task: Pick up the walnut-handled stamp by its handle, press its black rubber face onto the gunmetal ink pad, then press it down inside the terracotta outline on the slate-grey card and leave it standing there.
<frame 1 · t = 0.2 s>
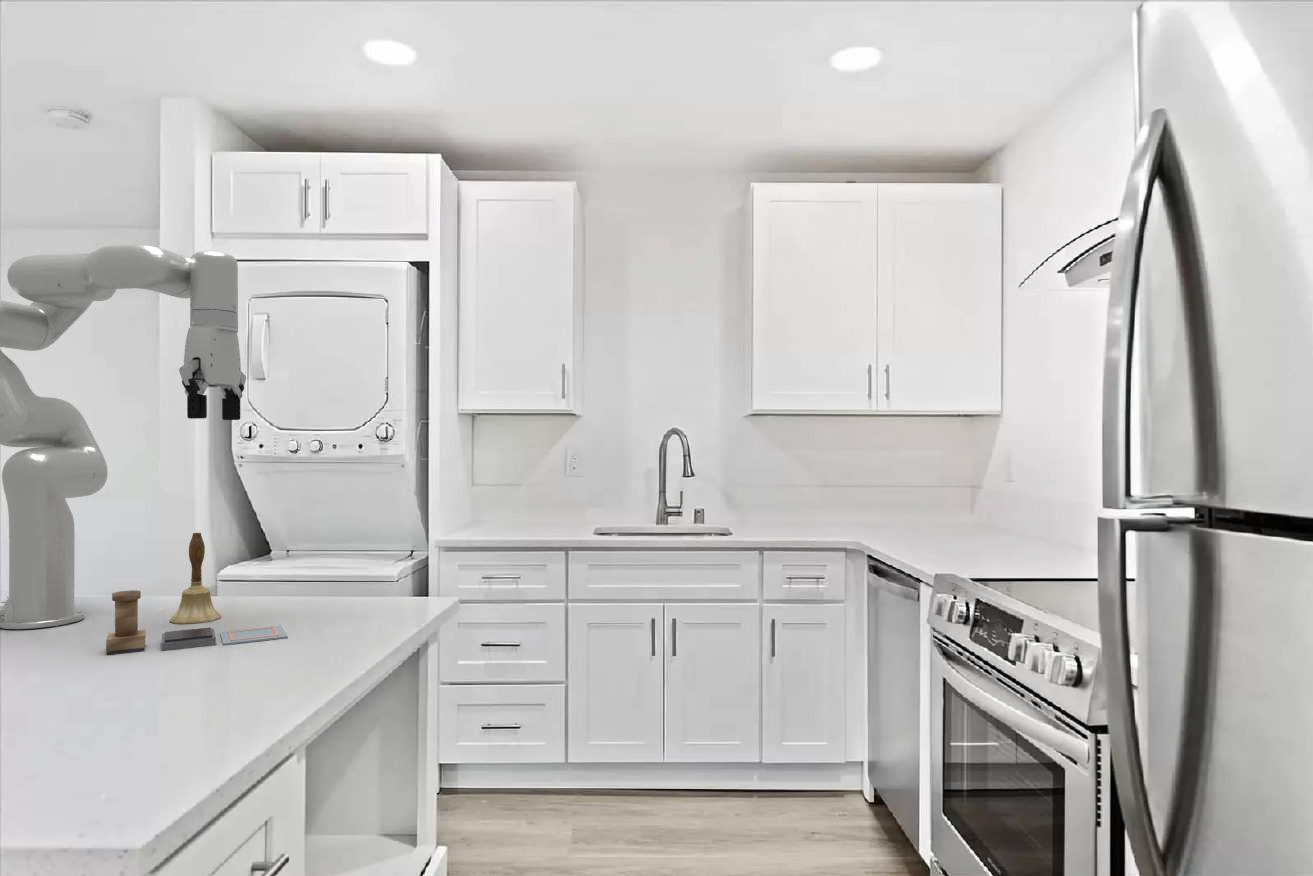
hand: (214, 419, 147), 37 cm above the counter, tool pointing down, fingers open, 9 cm apart
stamp: (126, 649, 129), on the counter
hand bell: (195, 620, 152), on the counter
target card: (253, 635, 139), on the counter
ink pad: (188, 642, 134), on the counter
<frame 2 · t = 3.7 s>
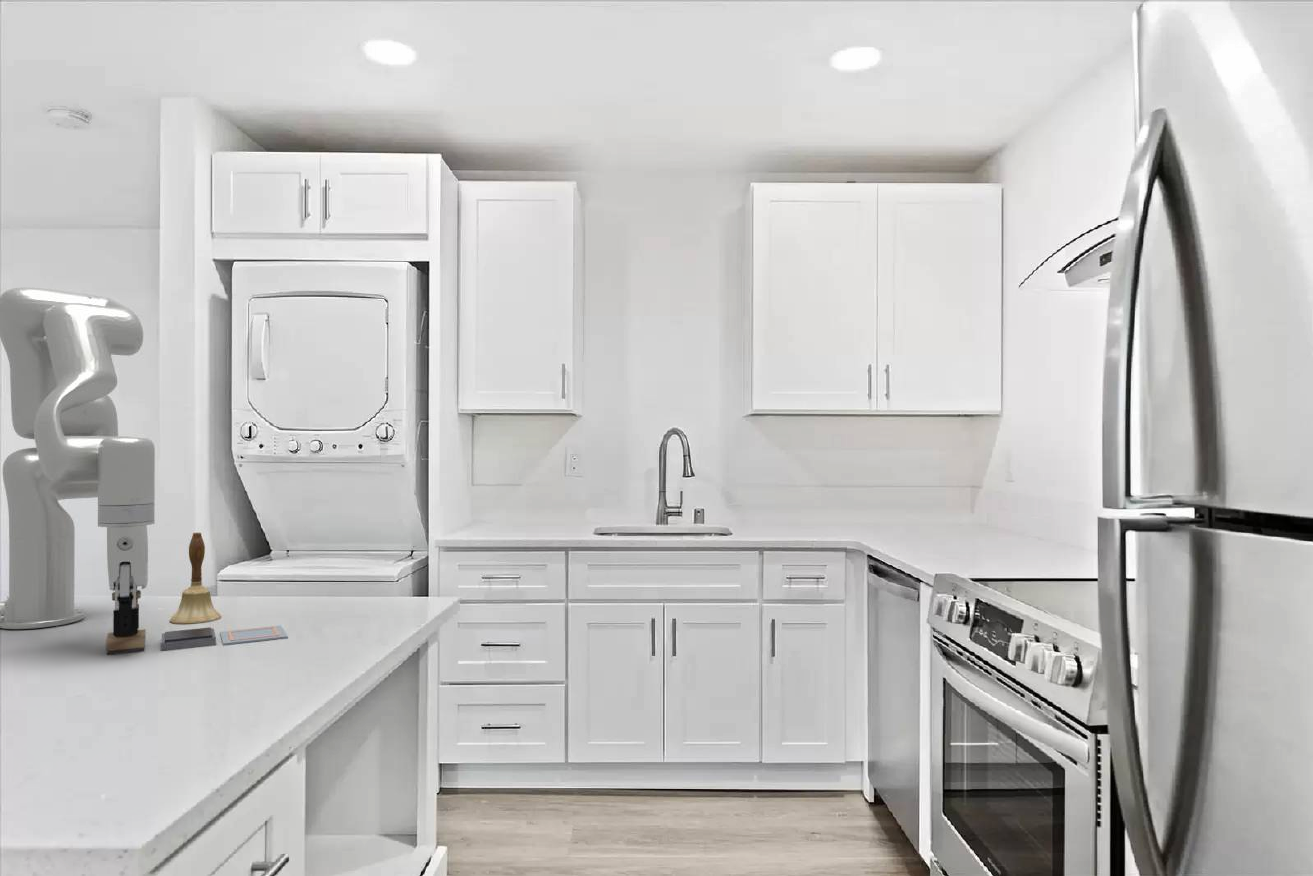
hand: (126, 631, 129), 3 cm above the counter, tool pointing down, fingers closed on stamp, 3 cm apart
stamp: (126, 649, 129), on the counter, touching gripper
everything else where it was.
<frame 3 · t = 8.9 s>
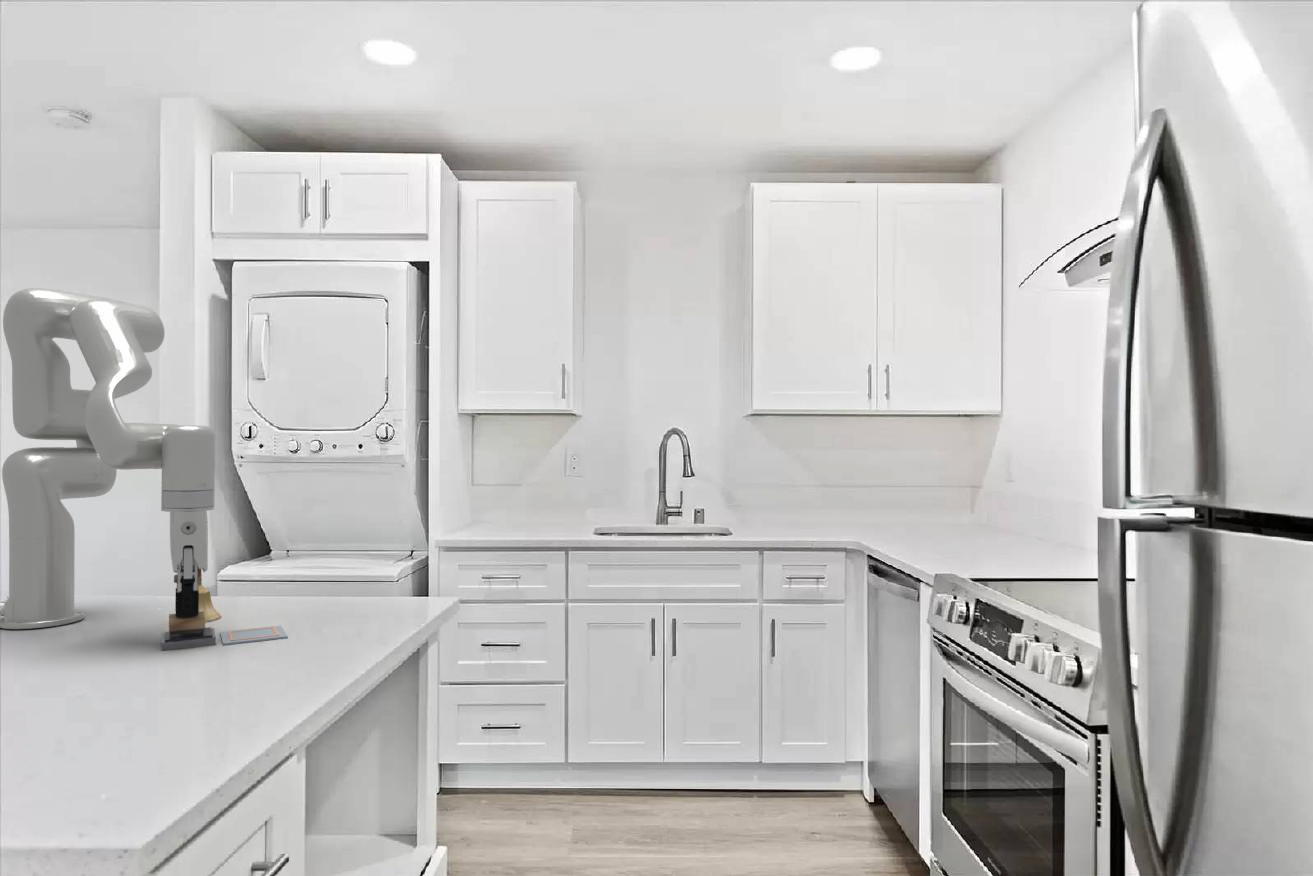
hand: (186, 613, 134), 5 cm above the counter, tool pointing down, fingers closed on stamp, 3 cm apart
stamp: (186, 630, 134), point 2 cm above the counter, touching gripper
everything else where it was.
when the fingers open (3 cm above the counter, at t = 14.3 s): stamp stays where it is, resting on target card.
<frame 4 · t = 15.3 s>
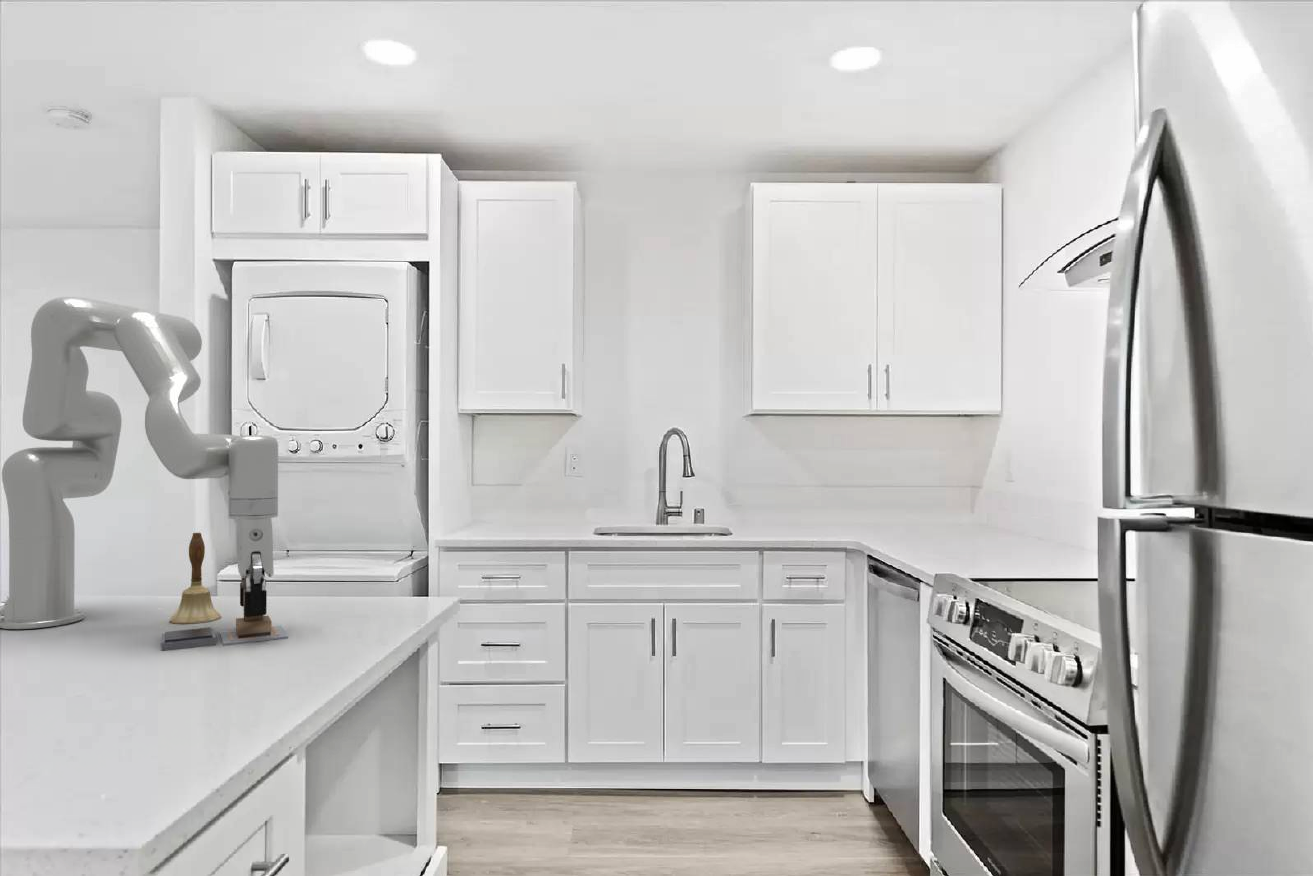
hand: (252, 610, 139), 4 cm above the counter, tool pointing down, fingers open, 9 cm apart
stamp: (253, 634, 139), resting on target card
everything else where it was.
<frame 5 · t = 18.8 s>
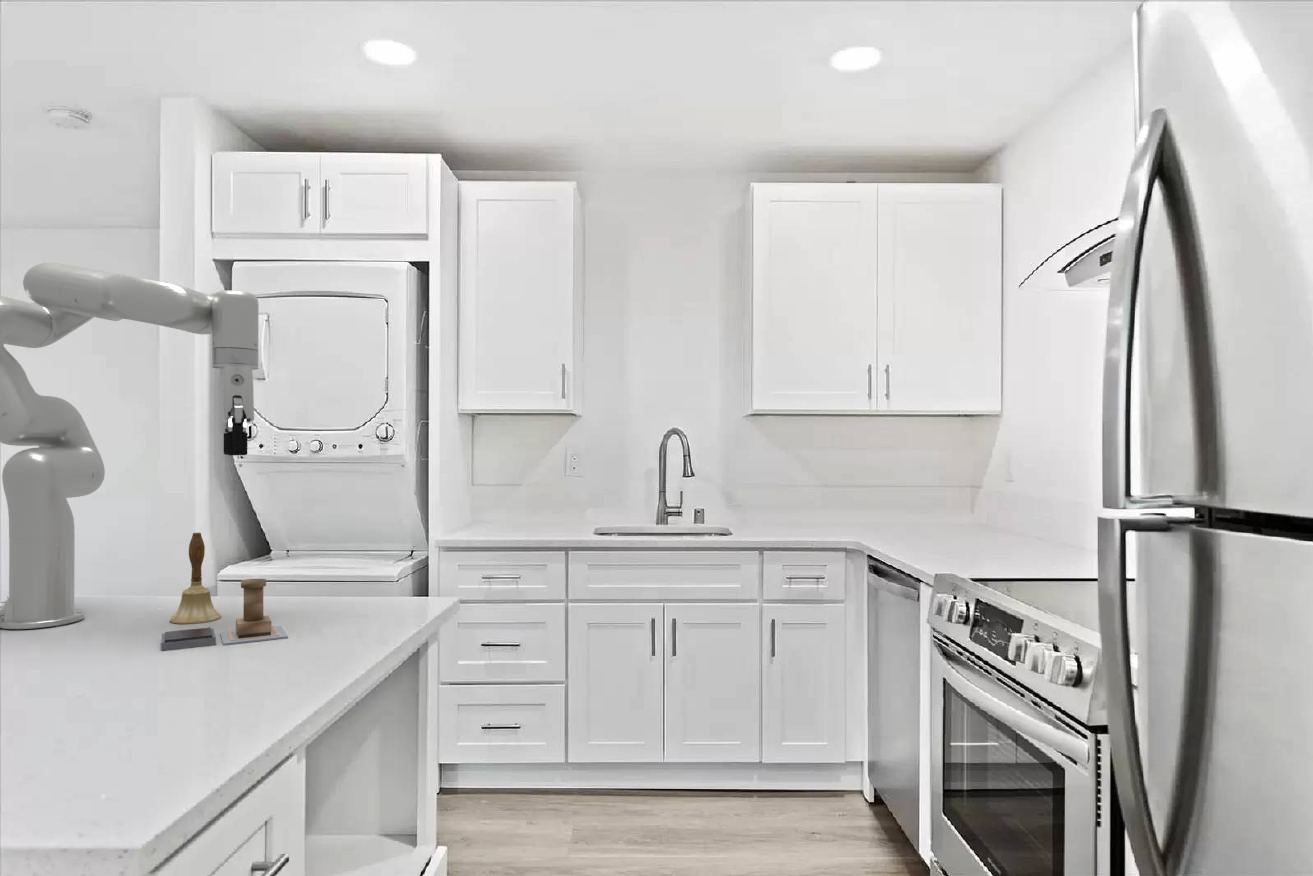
hand: (235, 454, 149), 30 cm above the counter, tool pointing down, fingers open, 9 cm apart
nothing on the counter moved.
at the end: stamp 0.0 cm off-centre on the target card, point 0.3 cm above the target card's base; stamp tilted 0°; the gripper is holding nothing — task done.
